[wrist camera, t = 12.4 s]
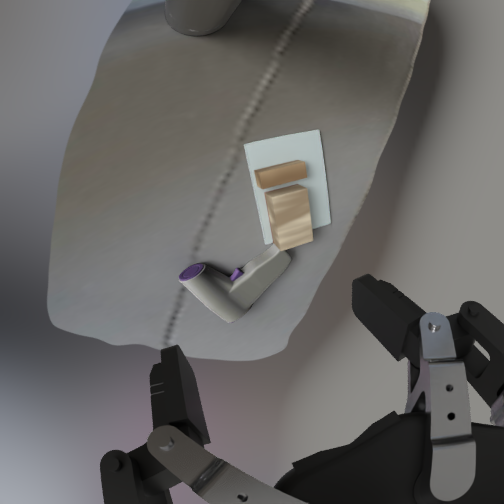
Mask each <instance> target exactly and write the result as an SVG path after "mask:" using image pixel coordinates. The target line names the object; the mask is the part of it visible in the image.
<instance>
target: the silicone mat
mask: <svg viewBox="0 0 504 504" xmlns="http://www.w3.org/2000/svg"><path fill="white" fill-rule="evenodd" d="M244 148H245V153H246V157H247V162H248V167H249V171H250V176H251V180H252V185H253V190H254V194H255V199H256V204H257V208H258V213H259V218H260V223H261V227H262V232H263V237H264V242H265V244H266V245H267V244H270V243H273V238H272V233H271V227H270V221H269V216H268V211H267V205H266V200H265V194H264V192H268V191H272V190H275V189H279V188H283V187H287V186H291V185H295V184H299V185H301V186H303V187H305V188H307V190H308V198H309V207H310V215H311V224H312V229H315V228H318V227H321V226H324V225H327V224H330V223H331V220H330V209H329V199H328V190H327V182H326V173H325V166H324V158H323V151H322V145H321V138H320V132H319V130H312V131H306V132H300V133H295V134H289V135H284V136H279V137H274V138H269V139H264V140H260V141H255V142H251V143H247V144H244ZM294 160H300V161H304V162H305V165H306V171H307V178H304V179H300V180H296V181H292V182H288V183H285V184H281V185H277V186H273V187H270V188H266V189H261V188H259V187H258V186H257V183H256V178H255V173H254V170H257V169H261V168H265V167H269V166H273V165H277V164H282V163H286V162H290V161H294Z"/></svg>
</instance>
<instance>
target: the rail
mask: <svg viewBox="0 0 504 504" xmlns="http://www.w3.org/2000/svg"><path fill="white" fill-rule="evenodd" d="M254 173H255V178H256V183H257V186H258V187H259V188H261V189H266V188H270V187H273V186H277V185H281V184H285V183H288V182H292V181H296V180H300V179H304V178H307V171H306V165H305V162H304V161H300V160H294V161H290V162H286V163H282V164H277V165H273V166H269V167H265V168H261V169H257V170H254Z"/></svg>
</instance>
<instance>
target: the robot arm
mask: <svg viewBox="0 0 504 504" xmlns="http://www.w3.org/2000/svg"><path fill="white" fill-rule="evenodd" d="M240 2H241V0H165V17H166V20H167V22H168V24H169V25H170V26H171V27H172V28H173V29H174V30H176V31H177V32H180V33H182V34H185V35H190V36H202V35H207V34H211V33H213V32H215V31H217V30H219V29H220V28H222V27H223V26H224V25H225V24H226V22H227V21H228V19H229V18H230V16H231V15H232V13H233V12H234V11H235V9H236V8H237V6H238V5H239V3H240ZM352 309H353V312H354V314H355V316H356V317H357V318H358V319H359V320H360V321H361V322H362V323H363V325H364V326H365V327H366V328H367V329H368V330H369V331H370V332H371V333H372V334H373V335H374V336H375V337H376V338H377V339H378V341H379V342H381V344H382V345H383V346H384V347H385V348H386V349H387V350H388V351H389V352H390V353H391V355H392V356H393V357H394V358H395V359H396V360H397V361H400V360H401V359H403V358H404V357H407V358H408V398H407V403H406V408H405V413H404V414H400V415H397V413H396V412H395V411H393V412H391V413H390V414H388V415H386V416H385V417H383V418H382V419H380V420H378V421H377V422H375V423H373V424H372V425H371V426H370V427H369V428H368V429H366V430H365V431H364V432H363V433H362V434H361V435H360V436H359V437H358V438H357V439H355V440H354V441H353V442H352V443H350V444H348V445H345V446H341V447H337V448H333V449H329V450H324V451H320V452H317V453H315V454H313V455H311V456H308V457H306V458H303V459H301V460H299V461H296V462H293V463H292V464H293V467H294V468H293V469H291V470H290V471H289V472H287V473H286V474H285V475H284V476H283V477H282V478H281V479H280V480H279V481H278V482H277V483H276V485H275V486H274V488H273V487H271V486H269V485H267V484H265V483H263V482H261V481H259V480H257V479H256V478H254V477H252V476H250V475H248V474H246V473H245V472H243V471H241V470H240V469H238V468H236V467H235V466H233V465H231V464H230V463H228V462H226V461H224V460H222V459H220V458H217V457H216V456H215V455H213V454H211V453H210V452H208V451H207V450H206V449H205V448H204V444H209V443H211V442H210V438H209V434H208V430H207V426H206V422H205V418H204V414H203V410H202V405H201V401H200V397H199V392H198V387H197V383H196V378H195V375H194V372H193V370H192V368H191V366H190V364H189V362H188V361H187V359H186V357H185V355H184V354H183V352H182V350H181V348H180V347H179V345H175V346H172V347H168V348H165V349H162V350H161V363H158V364H154V365H153V368H152V370H151V373H150V386H151V388H150V392H151V406H152V419H153V431H152V432H151V433H150V435H149V437H148V439H147V442H146V443H145V444H144V445H142V446H140V447H138V448H136V449H135V450H132V451H130V452H129V453H124V452H123V451H120V450H112V451H109V452H107V453H106V454H105V455H104V456H103V458H102V459H101V462H100V472H101V482H102V490H103V497H104V504H173V502H172V499H171V495H170V491H169V488H171V487H173V486H175V485H177V484H178V483H181V482H184V483H185V484H186V485H188V486H189V487H190V488H191V489H192V490H193V492H195V493H196V494H197V495H198V496H200V497H201V498H202V499H204V500H205V501H207V502H208V503H209V504H504V324H503V323H502V322H500V320H498V319H497V318H496V317H495V316H494V315H493V314H491V313H490V312H489V311H488V310H487V309H486V308H484V307H483V306H482V305H481V304H479V303H477V302H475V301H467V302H465V303H463V304H462V305H461V308H460V311H459V313H456V314H453V315H450V316H446V317H445V316H444V315H442V314H440V313H436V312H430V313H426V312H425V311H424V310H423V309H421V308H420V307H419V306H418V305H416V304H415V303H414V302H413V301H411V300H410V299H409V298H408V297H407V296H404V294H403V293H402V292H400V291H398V289H397V288H396V287H394V286H393V285H392V284H391V283H388V282H385V281H383V280H379V281H377V280H376V279H375V278H374V277H373V276H371V275H370V274H366V275H363V276H361V277H359V278H357V279H355V280H353V283H352ZM475 340H476V341H477V342H478V343H479V344H480V345H481V346H482V347H483V348H484V349H485V350H486V351H487V352H488V353H489V356H490V361H489V360H488V359H487V358H486V357H485V356H484V355H483V354H482V353H481V352H480V351H479V350H478V349H477V348H476V347H475V346H474V343H475ZM467 381H468V382H469V383H470V384H471V385H472V386H473V388H474V389H475V390H476V391H477V392H478V394H479V395H480V396H481V397H482V398H483V400H484V401H485V402H486V403H487V404H488V405H489V407H490V408H491V417H490V422H491V423H492V424H493V425H488V424H480V423H474V422H471V416H470V404H469V394H468V386H467Z"/></svg>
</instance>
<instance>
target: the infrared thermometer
mask: <svg viewBox="0 0 504 504" xmlns="http://www.w3.org/2000/svg"><path fill="white" fill-rule="evenodd" d="M291 260H292V258H291V257H290V255H289V254H288V253H287V252H286V251H285V250H283V251H280V250H279V249H278V248H277V246H276V245H275V244H274V243H273V245H272V246H271V247H270V248H269V249H268V250H266V251H265V252H263V253H262V254H260V255H259V256H257V257H256V258H254V259H252V260H251V261H250V262H248V263H247V264H246V265H245V266H244V267H243V268H242V269H240V268H236V269H235V271H234V273H233V275H232V276H230V277H227V276H226V275H224V274H222V273H220V272H218V271H216V270H214V269H212V268H211V267H209V266H207V265H205V264H195V265H192V266H190V267H188V268H187V269H185V270H184V271H183V272H182V273H181V274H180V275H179V281H180V282H181V283H182V284H183V285H184V286H185V287H186V288H187V289H188V290H190V291H191V292H192V293H193V294H194V295H195V296H196V297H197V298H198V299H199V300H200V301H201V302H202V303H203V304H204V305H205V306H206V307H208V308H209V309H210V310H211V311H213V312H214V313H215V314H217V315H218V316H219V317H221V318H222V319H224V320H225V321H226V322H228V323H233V322H235V321H236V320H238V319H239V318H241V317H242V316H243V315H244V314H245V313H246V312H247V311H248V310H249V309H250V308H251V307H252V305H253V303H254V302H255V301H256V300H257V299H258V298H259V296H260V295H261V294H262V293H263V292H264V291H265V290H266V288H267V287H269V286H270V285H271V284H272V283H273V282H274V281H275V280H276V279H277V278H278V277H279V276H280V275H281V274H282V273H283V271H284V270H285V269H286V268H287V266H288V265H289V263H290V262H291Z"/></svg>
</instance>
